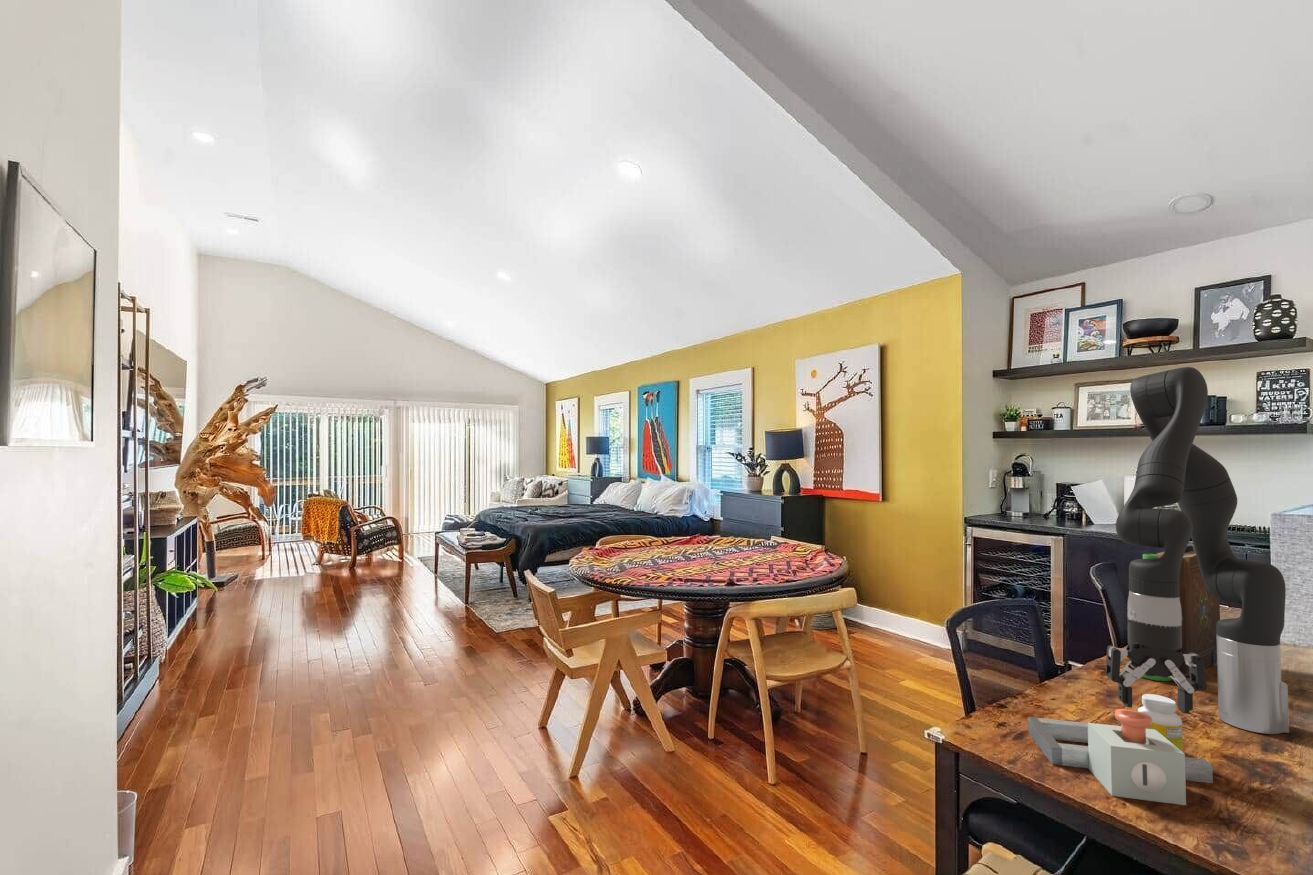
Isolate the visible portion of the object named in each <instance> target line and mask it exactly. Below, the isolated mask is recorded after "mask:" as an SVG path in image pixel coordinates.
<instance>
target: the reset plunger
mask: <svg viewBox="0 0 1313 875" xmlns="http://www.w3.org/2000/svg"><path fill="white" fill-rule="evenodd" d="M1114 718H1115V720H1116V721H1118V722H1120V726H1121V737H1122V738H1123V739H1124V740H1126V741H1129V742H1132V743H1138V744H1145V743H1146V728H1149V727H1151V726H1152V718H1151V717H1150V716H1148V715H1147V714H1144V713H1142V712H1139V711H1138V710H1135V709H1131V708H1130V709H1129V708H1117V709H1114Z"/></svg>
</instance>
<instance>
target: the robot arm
mask: <svg viewBox="0 0 1313 875" xmlns="http://www.w3.org/2000/svg"><path fill="white" fill-rule="evenodd" d="M1129 390H1130V397H1131V401H1132V404H1133V406H1134V408H1135V411H1136V413H1137V415H1138V417H1139V419H1140V421H1141V423H1142V425H1143V426H1144V428H1145V430H1146V432H1147V435H1148V436H1149V437H1150V440H1151V442H1150V443H1149V445H1148V446H1147V447H1146V448H1145V449H1144V450H1143V453H1142V454H1141V456H1140V457H1139V460H1138V462H1137V468H1136V475H1135V479H1134V480H1135V482H1134V485H1133V486H1134V487H1133V488H1132V491H1131V492H1130V495H1129V497H1128V498H1127V501H1126V502H1125V504H1124V505H1123V506H1122V508H1121V510H1120V511H1119V513H1118V515H1117V517H1116V521H1115V531H1116V533H1117V537H1118V538H1119V539H1120V540H1121V541H1123V543H1125V544H1128V545H1130V546H1131V545H1132V546H1140V547H1149V548H1160V549H1164V551H1163V552H1164V554H1163V555H1162V556H1161V557H1159V558H1151V559H1143V558H1139V559H1138V558H1137V559H1133V560H1131V561H1130V562H1129V565H1128V590H1129V591H1128V597H1127V647H1126V648H1120V647H1116V646H1113V645H1111V644H1110V645H1107V648H1106V657H1105V658H1106V660H1105V677H1107V678H1108V679H1109V680H1111V681H1112V682H1113V683H1117V684H1118V687H1117V688H1118V700H1119V701H1120V703H1122V705H1123V706H1125V707H1126V708H1128V709H1129V708H1130V709H1132V708H1133V687H1132V685H1133V684H1134V683H1135V682H1136V681H1137V680H1139V679H1141V678H1143V677H1142V676H1143V675H1144V674H1145V675H1147V676H1160V677H1165V678H1168V676H1170V677H1171V678H1172V680H1173V681H1174V682H1175V684H1177V686H1178V687H1179V688H1176V689H1177V709H1178V711H1180V712H1181V713H1182V714H1184V715H1185V714H1187V715H1188V714H1189V715H1190V712H1192V711H1193V709H1194V701H1193V699H1194V696H1193V695H1194V693H1195V692H1197V691H1201V692H1205V691H1206V690H1207V685H1208V684H1207V674H1206V668H1205V662H1204V658H1203V657H1201V656H1199V655H1197V654H1195V653H1193V652H1190V653H1189V654H1182V652H1181V648H1182V610H1181V604H1180V597H1179V596H1180V594H1179V576H1180V568H1181V563H1182V559H1183V556H1184V553H1185V550H1186V548H1187V546H1188V544H1190V540H1191V541H1192V545H1194V552H1196V556H1197V560H1198V563H1199V567H1200V571H1201V575H1202V578H1203V581H1204V583H1205V585H1206V587H1207V589H1208V590H1209V592H1210V593H1211V594H1212V595H1213V596H1215V597H1216V598H1219V599H1220V600H1222V601H1223V602H1224V601H1225V602H1228V603H1233V604H1238V605H1241V613H1240V616H1239V617H1236V618H1222V619H1220V620H1219V621H1218V622H1217V624H1216V638H1217V665H1216V666H1217V710H1218V718H1219V719H1220V720H1221V721H1223V723H1226V724H1228V725H1230V726H1233V727H1235V728H1239V729H1242V730H1245V731H1249V732H1254V733H1259V734H1265V735H1279V734H1282V733H1287V734H1290V722H1289V717H1290V716H1289V688H1288V687H1289V686H1288V684H1287V683H1286V682H1284V681H1282V660H1281V658H1282V657H1281V655H1282V654H1281V636H1282V633H1283V631H1284V628H1285V616H1286V615H1285V614H1286V612H1285V610H1286V595H1287V594H1286V582H1285V578H1284V576H1283V573H1282V572H1281V571H1280V569H1279V568H1278V567H1276V566H1275V565H1273V564H1271V563H1267V562H1261V561H1255V560H1249V559H1242V558H1238V557H1236V555H1235V553H1234V551H1233V550H1232V548H1231V545H1230V542H1229V539H1228V538H1229V537H1228V528H1229V526H1230V524H1231V521H1232V519H1233V517H1234V515H1235V513H1236V510H1237V506H1238V495H1237V493H1236V491H1235V487H1234V486H1233V484H1234V483H1232V479H1231V477H1230V475H1229V472H1228V471H1227V469H1226V467H1225V466H1224V465H1223V464H1222V463H1221V462H1220V461H1219V460H1217V459H1216V458H1214V457H1213V456H1212V455H1211V454H1209V453H1208V452H1206V451H1205V450H1203V449H1202V448H1200V447H1198V446H1197V445H1195V444H1194V440H1195V439H1196V438H1195V437H1196V436H1197V433H1198V430H1199V427H1200V424H1201V421H1202V418H1203V416H1204V413H1205V411H1206V408H1207V403H1208V399H1209V393H1208V392H1209V391H1208V390H1209V389H1208V384H1207V381H1206V379H1205V377H1204V375H1203V374H1202V373H1201V372H1200V370H1198V369H1197V368H1195V367H1192V366H1186V367H1177V368H1172V369H1168V370H1163V371H1158V372H1154V373H1150V374H1149V373H1148V374H1145V375H1142V376H1138V377H1135V378H1134V379H1132V381H1131V384H1130V387H1129ZM1170 417H1171V418H1170ZM1175 504H1177V505H1178V507H1179V510H1178V509H1172V508H1171V509H1170V508H1161V507H1165V506H1166V507H1168V506H1172V505H1175ZM1158 507H1160V508H1158ZM1125 657H1127V658H1128V659H1129V662H1128V663H1127V664H1126V665H1125V666H1124V667H1123V670H1122V671H1121V672H1120V670H1121V661H1123V660H1124V658H1125ZM1184 661H1185V662H1186V664H1187V665H1188V666H1189V673H1190V675H1189V681H1188V680H1187V678H1186V676H1184V675H1183V674H1182V673H1181V672H1180V671H1179V670H1178V668H1179V667H1180V666H1181V665H1182V664H1183V663H1184Z"/></svg>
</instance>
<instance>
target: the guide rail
mask: <svg viewBox="0 0 1313 875" xmlns="http://www.w3.org/2000/svg"><path fill="white" fill-rule="evenodd" d="M1088 723H1089V722H1081V721H1072V720H1071V721H1070V720H1061V719H1051V718H1044V717H1043V718H1042V717H1041V718H1040V717H1032V716H1027V733H1028V734H1029V735H1030V737H1031V738H1032V739H1033V741H1034V742H1035V743H1036V745H1037V746H1038V748H1039V749H1040V750H1041V752H1042V753H1043V754H1044V756H1045V757H1046V758H1047V759H1048V761H1049V763H1051V764H1052V765H1056V766H1064V767H1074V768H1079V769H1081V768H1082V769H1088V770H1089V759H1088V745H1080V744H1070V743H1061V742H1058V741H1065V742H1066V741H1067V742H1077V743H1085V744H1088ZM1056 740H1057V741H1056ZM1213 776H1214V774H1213V764H1211V763H1210V762H1209V761H1208V760H1206V759H1204V758H1197V757H1188V756H1185V780H1186V781H1189V782H1190V781H1191V782H1197V783H1206V784H1214V782H1213V781H1214V779H1213V778H1214V777H1213Z"/></svg>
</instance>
